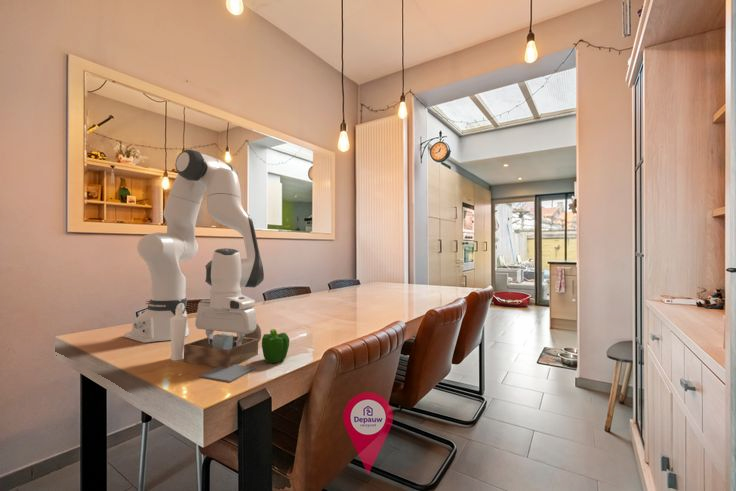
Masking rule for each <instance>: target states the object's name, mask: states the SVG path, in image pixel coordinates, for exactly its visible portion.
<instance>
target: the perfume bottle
mask: <svg viewBox="0 0 736 491" xmlns="http://www.w3.org/2000/svg"><path fill="white" fill-rule="evenodd" d="M175 310H176V312H175V316H174V317H172V318H170V330H171V340H170V343H171V344H170V346H171V354H170V358H169V360H171V361H174V362H175V361H182V360H184V345H185V339H186V336H185V332H186V322H187V323H188V316H187V317H186V316H183V315H182V312H183V309H175Z"/></svg>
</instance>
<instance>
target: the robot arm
mask: <svg viewBox="0 0 736 491" xmlns="http://www.w3.org/2000/svg"><path fill="white" fill-rule="evenodd" d="M175 170H176V173H177V176H176V177H175V179H174V181H173V183H172V186H171V187H170V190H169V193H168V196H167V199H166V203H165V206H164V209H163V218H164V219H165V220H166V232H154V233H149V234H146V235H144V236H142V237H141V238H140V239H139V240H138V243H137V246H136V248H137V253H138V255H139V257H140V258H141V259H143V260H144V261H145V263H146V266H147V267H148V270H149V274H150V279H151V294H150V295H151V297H150V298H151V299H150V300H146V301H145V302H146V303H145V305H147V308H146V310H145V311H143V312H142V313H141V314H140V315H139V316H137V317H135V318H134V320H133V321H132V326H131V331H128V332H126V333H124V334H123V337H124V338H127V339H130V340H134V341H136V342H140V343H143V344H144V343H151V342H163V341H171V330H170V318H172V317H174V316H175V312H176V310H175V309H183V312H182V315H183V316H186V317H187V318H188V312H187V310H186V308H187V303H188V301H187V300H188V299H187V297H186V290H187V288H186V287H187V278H186V276H185V275H184V274H183V272H182V271H181V268H180V263H183V262H187V261H188V260H191V259H193V258H195V256H197V254H198V251H199V244H198V242H197V240H196V224H197V218H198V215H199V213H200V208H201V205H202V202H203V199H204V194H205V192H206V209H207V213H208V215H209V216H210V217H211V219H212V220H214V221H215V222H217V223H218V224H220V225H222V226H225V227H227V228H230V229H232V230H234V231H236V232H238V233H239V234H240V235H241V236H242V238H243V242H244V248H245V252H246V258H241V253H240V251H239V250H238V249H234V248H227V247H226V248H217V249H215V250H214V251H213V253H212V260H210V261H209V262H207V264H206V265H205V266H204V267H205V283H206V284H208V285H209V286H211V287H210V293H209V295H210V296H209V299H206V298H203V299H201V300H200V301H199V302H198V305H197V309H196V310H197V311H196V315H195V316H196V317H195V327H196V329H197V330H205V331H204V332H205V334H206V338H207V337H208V339H209V344H213V336H214V335H215V334H214V332H215V331H216V332H223V333H224V332H225V333H235V334H236V336H238V339H237V341H234V347H237V346H240V345H242V340H243V338H244V336H245V334H249V333H252V332H254V331H255V329H256V323H257V311H256V309H255V308H254V307H255V306H256V300H254V299H253V298H251V297H249V296H246V295H245V294H243V293H242V288H254V289H255V288H256V287H258V286H259V285H260V284H261V283H262V282H263V281H264V280H265V279H264V278H265V269H264V265H263V262H262V257H261V254H260V253H261V252H260V250H259V244H258V241H257V240H258V239H257V234H256V230H255V226H254V225H255V224H254V222H253V219H252V217H251V215H250V214H248V213H247V212H246V211H245V209H244V208H243V205H242V204H243V203H242V191H241V185H240V180H239V175H238V170H236V169H235V167H233V166H232V165H231V164H229V163H227V162H224V161H222V160H221V159H218V158H216V157H215V156H210V155H208V154H205V153H200V151H198V150H193V149H184V150H182V151H181V152H180V153H179V154H178V156H177V157H176V160H175ZM189 332H190V328H189V326H188V321H187V322H186V332H185V337H187V336H189V335H190V333H189Z"/></svg>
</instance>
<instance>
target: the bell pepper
mask: <svg viewBox="0 0 736 491" xmlns="http://www.w3.org/2000/svg"><path fill="white" fill-rule="evenodd" d="M269 332H270V333H266V334H263V336H262V337H261V350H262V354H263V358H264V360H265V362H266V363H270V364H276V363H279V362H280V361H284V360H286V357H287V354H288V351H289V347H290V337H289V335H288V334H287V333H286V332H281V333H278V332H277V330H276V329H275V328H272V329H270V330H269Z"/></svg>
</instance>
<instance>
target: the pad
mask: <svg viewBox="0 0 736 491" xmlns="http://www.w3.org/2000/svg"><path fill="white" fill-rule="evenodd" d="M255 370H256V367H254V366H247V365H243V364H237V365H236V364H234V365H232V366H230V367H228V368H227V367H221V366H219V367H214V368H212V369H210V370H207V371H206V372H204V373H202V374H199V375H198V377H199V378H204V379H208V380H215V381H221V382H226V383H233V382H234V381H235V380H238V379H239V378H241V377H243V376H244V375H247V374H249V373H251V372H252V371H255Z"/></svg>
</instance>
